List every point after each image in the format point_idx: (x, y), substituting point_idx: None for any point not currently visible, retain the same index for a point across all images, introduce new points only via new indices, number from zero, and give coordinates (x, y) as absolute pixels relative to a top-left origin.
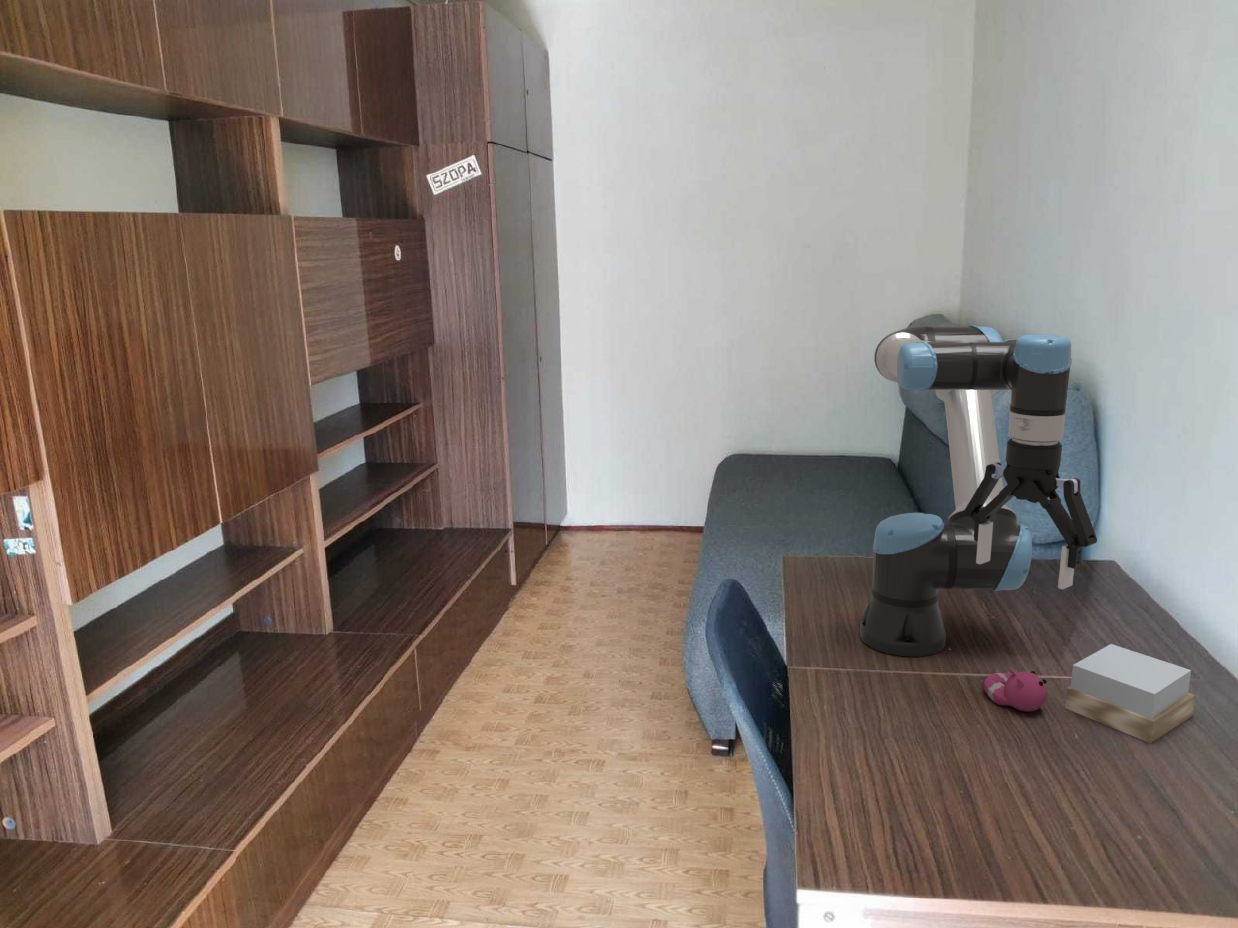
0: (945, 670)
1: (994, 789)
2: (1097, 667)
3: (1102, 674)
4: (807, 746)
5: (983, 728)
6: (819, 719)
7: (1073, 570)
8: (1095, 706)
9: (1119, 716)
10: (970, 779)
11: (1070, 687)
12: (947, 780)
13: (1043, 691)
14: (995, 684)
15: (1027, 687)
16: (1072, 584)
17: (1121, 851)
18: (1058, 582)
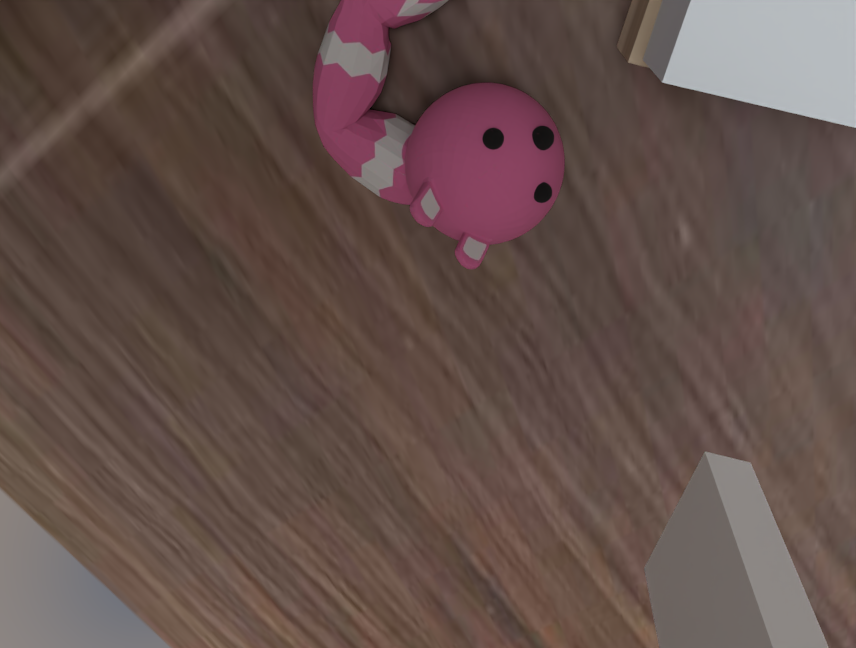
0: (133, 23)
1: (548, 575)
2: (779, 35)
3: (807, 105)
4: (154, 618)
5: (427, 349)
6: (90, 523)
7: (793, 582)
8: None
9: None
10: (490, 567)
11: (640, 50)
12: (450, 591)
13: (556, 191)
14: (369, 167)
15: (503, 237)
16: (751, 466)
17: (830, 635)
18: (652, 606)
